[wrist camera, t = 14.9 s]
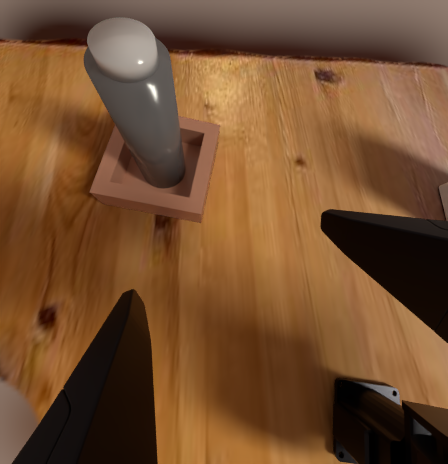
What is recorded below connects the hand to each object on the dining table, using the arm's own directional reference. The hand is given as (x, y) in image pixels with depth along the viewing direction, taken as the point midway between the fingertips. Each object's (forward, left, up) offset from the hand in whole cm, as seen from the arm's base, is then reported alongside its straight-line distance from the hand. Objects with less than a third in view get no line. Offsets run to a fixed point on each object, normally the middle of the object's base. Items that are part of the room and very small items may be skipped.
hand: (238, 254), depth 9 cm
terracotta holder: (+8, -11, -14) cm, 19 cm away
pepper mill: (+8, -11, -13) cm, 19 cm away
